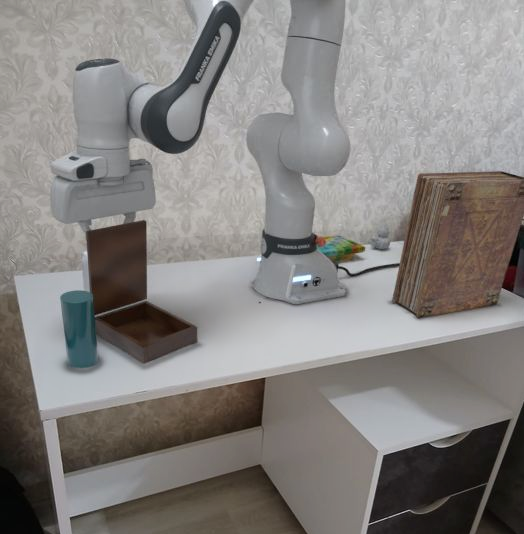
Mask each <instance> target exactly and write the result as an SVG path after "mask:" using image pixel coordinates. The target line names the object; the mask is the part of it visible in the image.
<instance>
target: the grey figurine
mask: <svg viewBox="0 0 524 534" xmlns="http://www.w3.org/2000/svg"><path fill="white" fill-rule="evenodd" d="M389 234H390V231H389V228H388V227H387V223H385V224H382V225H381V226H380V227H379V228H378V230H377V235H375V236H371V237H370V240H371V241H370V242H371V243H370V245H371V246H373V247H375V248H377V249H379V250H386V249H388V248H389V247H390V245H391V239H390V237H389V236H390V235H389Z"/></svg>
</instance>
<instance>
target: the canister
mask: <svg viewBox="0 0 524 534" xmlns="http://www.w3.org/2000/svg"><path fill="white" fill-rule="evenodd" d="M59 299H60V307H61V308H60V309H61V316H62V317H61V319H62V325H63V335H64V342H65V351H66V361H67V364H68V365H69V366H70V367H72V368H75V369H87V368H91V367H93V366H95V365H96V364H98V362H99V348H98V337H97V336H98V335H97V334H96V323H95V317H96V315H95V311H94V299H93V294H92V293H90V292H88V291H84V290H81V289H80V290H79V289H77V290H70V291H65V292H63V293H61V295H60V297H59Z"/></svg>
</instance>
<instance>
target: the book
mask: <svg viewBox="0 0 524 534" xmlns="http://www.w3.org/2000/svg"><path fill="white" fill-rule="evenodd" d="M523 219H524V176H520V175H517V174H513V173H510V172H505V171H503V170H500V171H499V170H497V171H495V170H494V171H460V172H459V171H458V172H421V173H418V174H417V178H416V183H415V187H414V192H413V196H412V201H411V208H410V212H409V217H408V222H407V225H406V226H407V227H406V231H405V236H404V242H403V245H402V249H401V250H402V251H401V256H400V261H399V263H400V265H399V266H398V271H397V275H396V280H395V285H394V290H393V294H392V299H391V302H392V303H393V304H397V303H398V304H400V305H402V306H403V307H404V308H406V309H408V310H409V311H411V312H413V313H414V314H416V318H418V319H422V318H428V317H433V316H439V315H445V314H449V313H456V312H460V311H467V310H472V309H479V308H483V307H489V306H495V305H497V304H498V302H499V299H500V295H501V293H502V289H503V285H504V282H505V280H506V275H507V272H508V270H509V265H510V262H511V259H512V256H513V253H514V248H515V246H516V242H517V239H518V235H519V232H520V229H521V226H522V221H523Z"/></svg>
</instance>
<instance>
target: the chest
mask: <svg viewBox="0 0 524 534" xmlns="http://www.w3.org/2000/svg"><path fill="white" fill-rule="evenodd" d="M95 323H96V335H97V336H98V337H100V338H102V339H103V340H105V341H106V342H108V343H109V344H111V345H113V346H114V347H116V348H118V350H119V349H120V350H121V351H122V352H124V353H126V354H127V355H129V356H131V357H132V358H134V359H135V360H137V361H139V362H141V363H142V364H147V363H149V362H151V361H154V360H157V359H159V358H161V357H164V356H167V355H169V354H171V353H174V352H177V351H179V350H181V349H183V348H186V347H189V346H191V345H193V344H196V343H198V326H197V325H195V324H193V323H191V322H188V321H187V320H185V319H183V318H181V317H179V316H178V315H175V314H174V313H171V312H169V311H167V310H166V309H164V308H161V307H160V306H157V305H156V304H154V303H151V302H150V301H148V300H143V301H140V302H136V303H133V304H130V305H127V306H124V307H121V308H118V309H114V310H111V311H108V312H105V313H102V314H99V315H96V316H95Z"/></svg>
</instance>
